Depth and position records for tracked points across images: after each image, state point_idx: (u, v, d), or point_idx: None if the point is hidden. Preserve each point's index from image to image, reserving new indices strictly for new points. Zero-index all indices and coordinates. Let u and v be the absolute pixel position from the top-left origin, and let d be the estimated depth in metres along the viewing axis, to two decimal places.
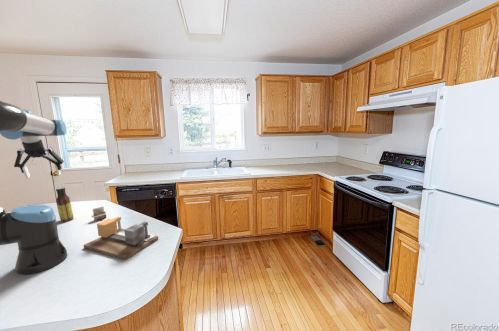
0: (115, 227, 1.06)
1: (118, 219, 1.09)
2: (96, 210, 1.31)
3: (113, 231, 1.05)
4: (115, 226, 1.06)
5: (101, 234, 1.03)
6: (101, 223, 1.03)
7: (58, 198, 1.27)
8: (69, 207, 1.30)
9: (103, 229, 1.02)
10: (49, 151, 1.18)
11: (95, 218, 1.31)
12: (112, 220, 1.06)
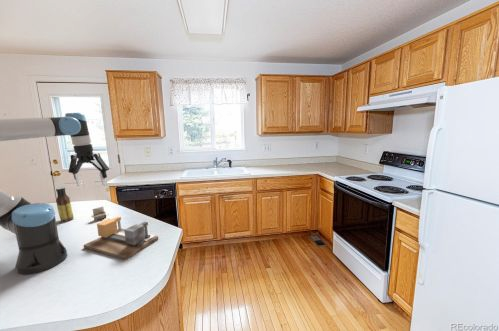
0: (115, 227, 1.06)
1: (118, 219, 1.09)
2: (96, 210, 1.31)
3: (113, 231, 1.05)
4: (115, 226, 1.06)
5: (101, 234, 1.03)
6: (101, 223, 1.03)
7: (58, 198, 1.27)
8: (69, 207, 1.30)
9: (103, 229, 1.02)
10: (95, 156, 1.10)
11: (95, 218, 1.31)
12: (112, 220, 1.06)
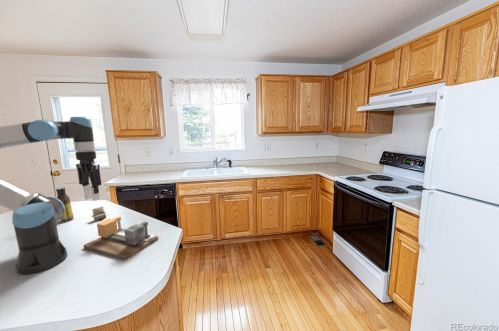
0: (115, 227, 1.06)
1: (118, 219, 1.09)
2: (96, 210, 1.31)
3: (113, 231, 1.05)
4: (115, 226, 1.06)
5: (101, 234, 1.03)
6: (101, 223, 1.03)
7: (58, 198, 1.27)
8: (69, 207, 1.30)
9: (103, 229, 1.02)
10: (93, 167, 1.00)
11: (95, 218, 1.31)
12: (112, 220, 1.06)
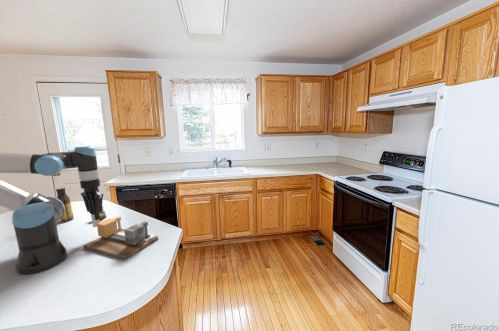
0: (115, 227, 1.06)
1: (118, 219, 1.09)
2: None
3: (113, 231, 1.05)
4: (115, 226, 1.06)
5: (101, 234, 1.03)
6: (101, 223, 1.03)
7: (58, 198, 1.27)
8: (69, 207, 1.30)
9: (103, 229, 1.02)
10: (96, 197, 1.03)
11: None
12: (112, 220, 1.06)
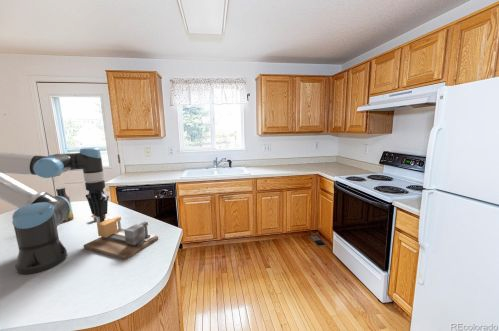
0: (115, 227, 1.06)
1: (118, 219, 1.09)
2: None
3: (113, 231, 1.05)
4: (115, 226, 1.06)
5: (101, 234, 1.03)
6: (101, 223, 1.03)
7: None
8: None
9: (103, 229, 1.02)
10: (102, 199, 1.01)
11: (94, 218, 1.31)
12: (112, 220, 1.06)
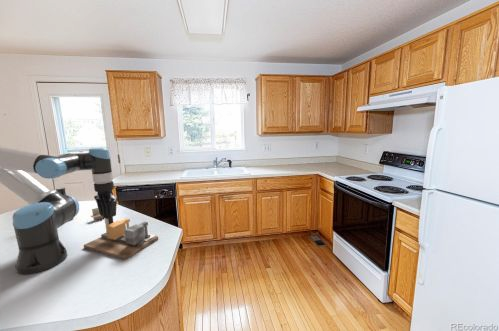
0: (124, 229, 1.04)
1: (127, 221, 1.07)
2: (95, 210, 1.31)
3: (122, 233, 1.03)
4: (124, 228, 1.04)
5: (110, 236, 1.01)
6: (110, 225, 1.01)
7: None
8: None
9: (112, 231, 0.99)
10: (111, 200, 0.99)
11: (94, 218, 1.31)
12: (121, 222, 1.04)
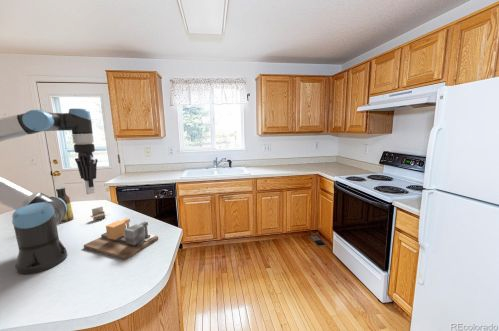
0: (124, 229, 1.04)
1: (127, 221, 1.07)
2: (95, 210, 1.31)
3: (122, 233, 1.03)
4: (124, 228, 1.04)
5: (110, 236, 1.00)
6: (110, 225, 1.01)
7: None
8: (69, 207, 1.30)
9: (112, 231, 0.99)
10: (90, 161, 0.99)
11: (94, 218, 1.31)
12: (121, 222, 1.04)
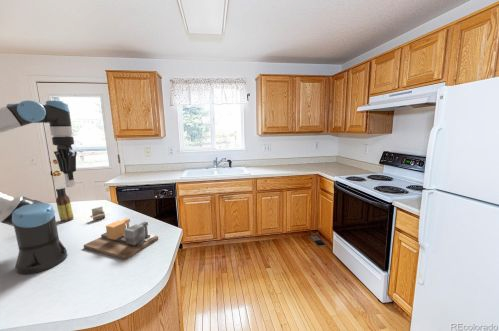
0: (124, 229, 1.04)
1: (127, 221, 1.07)
2: (95, 210, 1.31)
3: (122, 233, 1.03)
4: (124, 228, 1.04)
5: (110, 236, 1.00)
6: (110, 225, 1.01)
7: (58, 198, 1.27)
8: (69, 207, 1.30)
9: (112, 231, 0.99)
10: (69, 154, 0.98)
11: (94, 218, 1.31)
12: (121, 222, 1.04)
